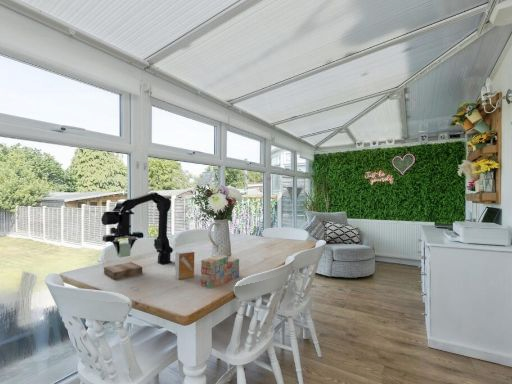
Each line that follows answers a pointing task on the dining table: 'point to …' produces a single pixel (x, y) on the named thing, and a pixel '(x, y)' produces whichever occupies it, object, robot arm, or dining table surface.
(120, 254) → the green cube
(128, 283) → the dining table surface
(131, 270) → the walnut base
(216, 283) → the stack of blocks
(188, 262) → the small box
